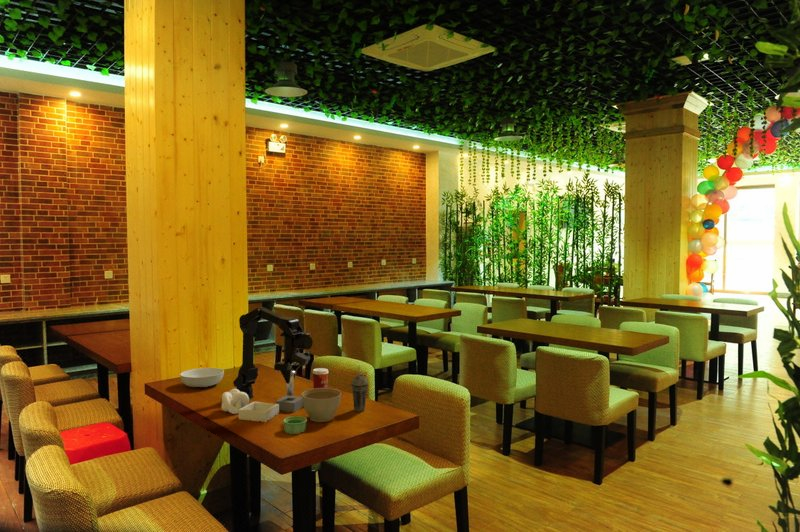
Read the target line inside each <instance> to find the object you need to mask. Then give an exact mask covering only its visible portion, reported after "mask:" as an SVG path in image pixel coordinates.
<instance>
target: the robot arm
mask: <svg viewBox="0 0 800 532" xmlns="http://www.w3.org/2000/svg"><path fill="white" fill-rule="evenodd" d="M262 320H264V321H267V322H270V323H271V324H274V325H275V326H277V327H278V329H279V330H281V331H282V333H280V335H279V337H283V348H282V349H281V353H283V358H282V359H281V361H279V362H276V363H274V365H273V369H274V371H279V372H280V373H281V375H282V377H283V379H284V381H285V383H286V385H287V384H289V381H290V374H291V371H292V370H295V371H296V374H294V379H295V377H296V375H297V371H298V369H299V368H300V367H301V366H303V367H304V366H306V365H308V363H309V361H310V360H311V354H310V352H308V351H309V350H310V349H311V348H312V347H313V345H314V344H313V343H314V341H313V339H312V337H311V336H310V334H311V333H305V331H304V329H303V328H302V326H301V323H300V321H299V319H298V318H296V317H290V316H285V315H284V316H283V315H281V314H280V313H279V314H278V313H277V312H274V311H272V310H270V309H268V308H266V307H264V306H263V307H257V308H255V309H253V310H251V311H249V312H247V313H245V314H242V315H240V317H239V320H238V322H239V328H240V330H241V332H242V355H241V356H242V361H241V363H242V364H241V365H240V367H239V368H238V372H237V373H238V374H237V376H236V378H235V379H234V381H233V382H232V384H233V387H235V388H236V389H238V390H239V391H240V392H244V393H246V394H247V395H248V397H249V400H251V399H253V398H254V397H255V396H254V392H253V391H254V388H253V385H255V383H256V380H257V379H258V376H259V368H258V367H256V365H255V364H254V358H255V357H254V352H255V349H254V348H255V347H254V346H255V332H256V330H257V328H258V325H259V322H260V321H262ZM300 349H301V350H308V351H305V352H304V353H303V352H300Z"/></svg>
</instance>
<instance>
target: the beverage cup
mask: <svg viewBox="0 0 800 532" xmlns="http://www.w3.org/2000/svg"><path fill="white" fill-rule="evenodd" d="M357 367H358V368H357V369H358V374H357V375H355V376H354V377H353V379H352V381H351V389H352V398H353V399H352V402H353V410H354V412H356V411H359V412H358V413H361V412H360V411H363V412H365V408H366V401H367V400H366V398H367V389H368V387H369V386H368V385H369V382H368V380H367V378H366V376H365V375H362V374H360V373H361V371H360V365H358V366H357Z"/></svg>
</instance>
